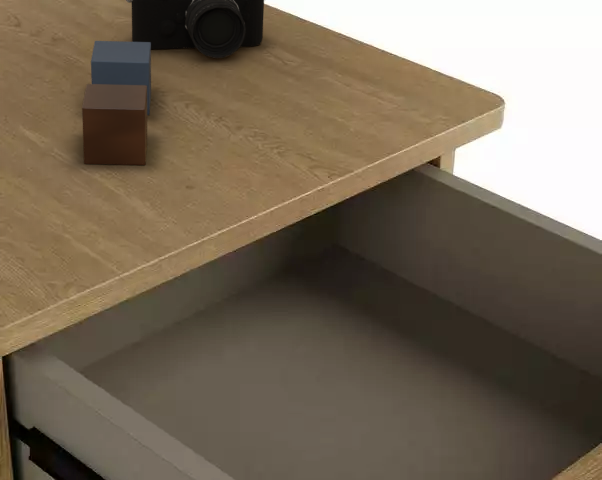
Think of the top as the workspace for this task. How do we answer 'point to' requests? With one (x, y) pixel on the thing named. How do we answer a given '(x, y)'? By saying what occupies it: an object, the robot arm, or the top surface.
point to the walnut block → (115, 124)
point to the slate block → (122, 64)
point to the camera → (198, 24)
